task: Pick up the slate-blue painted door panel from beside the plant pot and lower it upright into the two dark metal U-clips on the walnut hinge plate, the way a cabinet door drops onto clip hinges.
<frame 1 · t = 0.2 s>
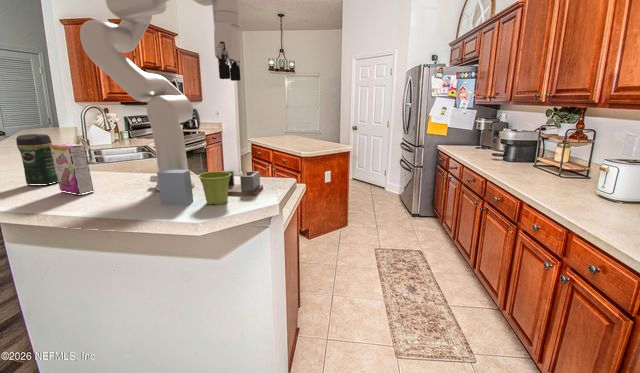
hand: (230, 79, 103), 36 cm above the countertop, tool pointing down, fingers open, 9 cm apart
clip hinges: (237, 180, 110), on the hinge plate, point 4 cm above the countertop
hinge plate: (238, 191, 111), on the countertop
door panel: (177, 203, 99), on the countertop
plant pot: (217, 202, 100), on the countertop
coffee jar: (44, 184, 122), on the countertop
candy bar box: (77, 193, 110), on the countertop
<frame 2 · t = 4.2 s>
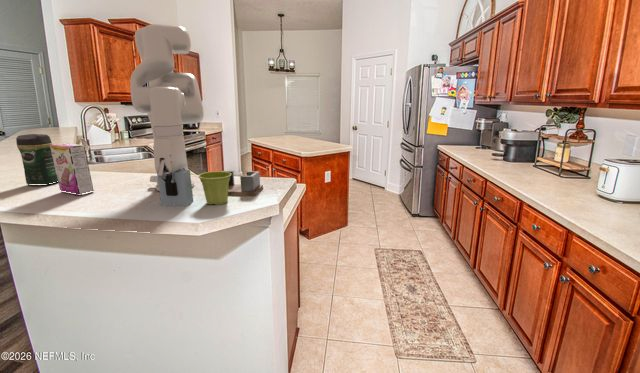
hand: (176, 192, 98), 3 cm above the countertop, tool pointing down, fingers closed on door panel, 4 cm apart
door panel: (177, 203, 99), on the countertop, touching gripper
everything else where it was.
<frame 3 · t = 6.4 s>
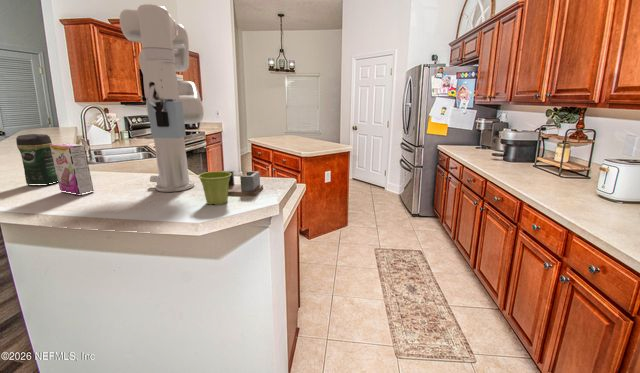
hand: (167, 125, 93), 23 cm above the countertop, tool pointing down, fingers closed on door panel, 4 cm apart
door panel: (169, 137, 94), point 20 cm above the countertop, touching gripper
everything else where it was.
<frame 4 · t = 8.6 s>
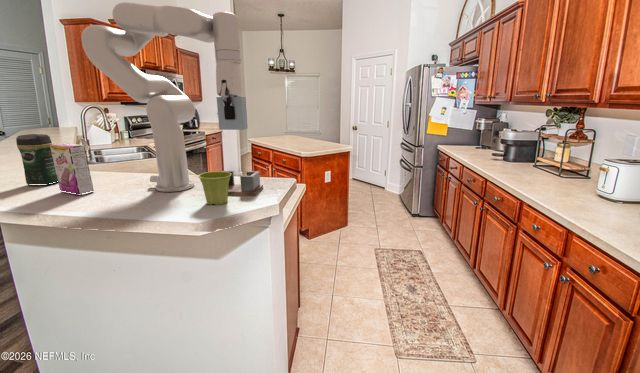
hand: (232, 118, 104), 24 cm above the countertop, tool pointing down, fingers closed on door panel, 4 cm apart
door panel: (233, 129, 105), point 21 cm above the countertop, touching gripper
everything else where it was.
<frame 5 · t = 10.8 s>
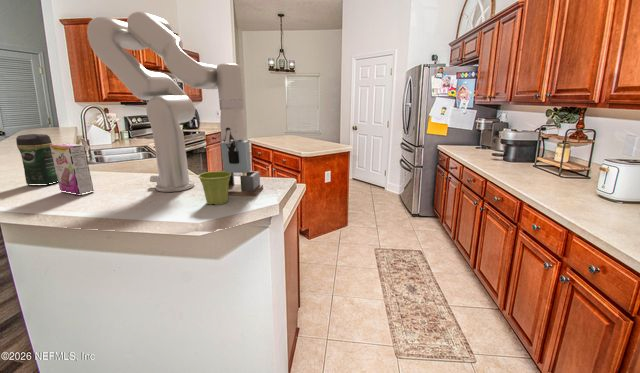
hand: (236, 161, 108), 10 cm above the countertop, tool pointing down, fingers closed on door panel, 4 cm apart
door panel: (237, 171, 109), point 7 cm above the countertop, touching gripper
everything else where it was.
when the fingers open (6 cm above the countertop, at t = 12.9 s): door panel drops 1 cm, resting on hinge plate.
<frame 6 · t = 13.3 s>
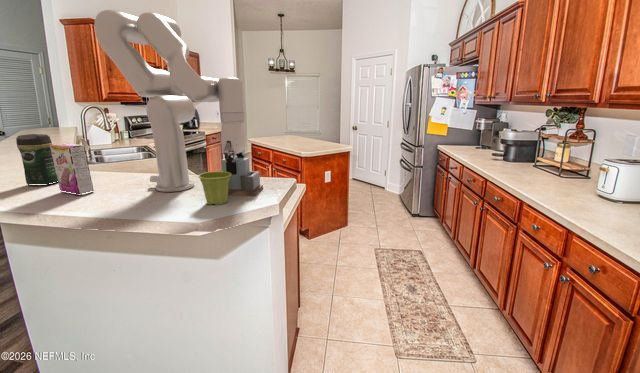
hand: (236, 171, 109), 7 cm above the countertop, tool pointing down, fingers open, 8 cm apart
door panel: (237, 187, 110), point 1 cm above the countertop, touching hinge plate
everything else where it was.
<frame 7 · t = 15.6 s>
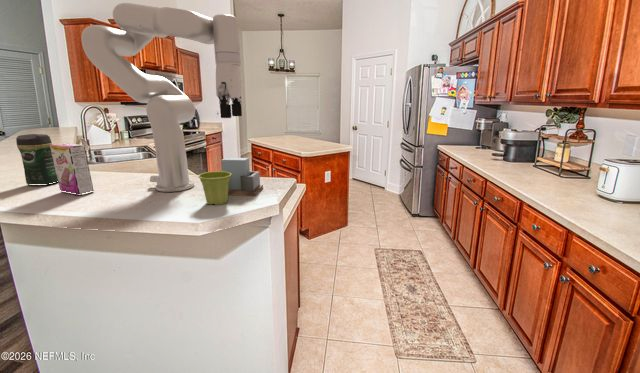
hand: (231, 117, 104), 25 cm above the countertop, tool pointing down, fingers open, 9 cm apart
nothing on the countertop moved.
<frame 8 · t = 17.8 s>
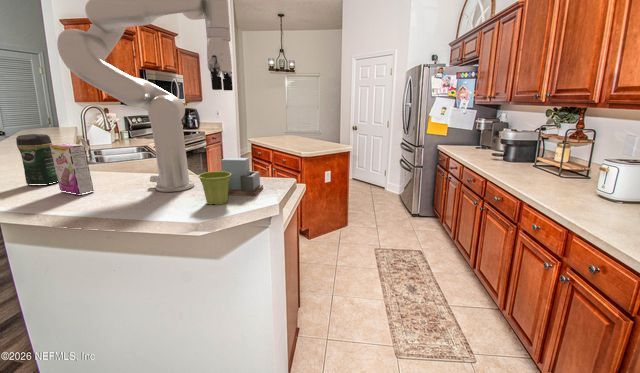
hand: (222, 90, 111), 33 cm above the countertop, tool pointing down, fingers open, 9 cm apart
nothing on the countertop moved.
at the end: door panel 0.1 cm off-centre on the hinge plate, point 1.2 cm above the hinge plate's base; door panel tilted 0°; the gripper is holding nothing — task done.
